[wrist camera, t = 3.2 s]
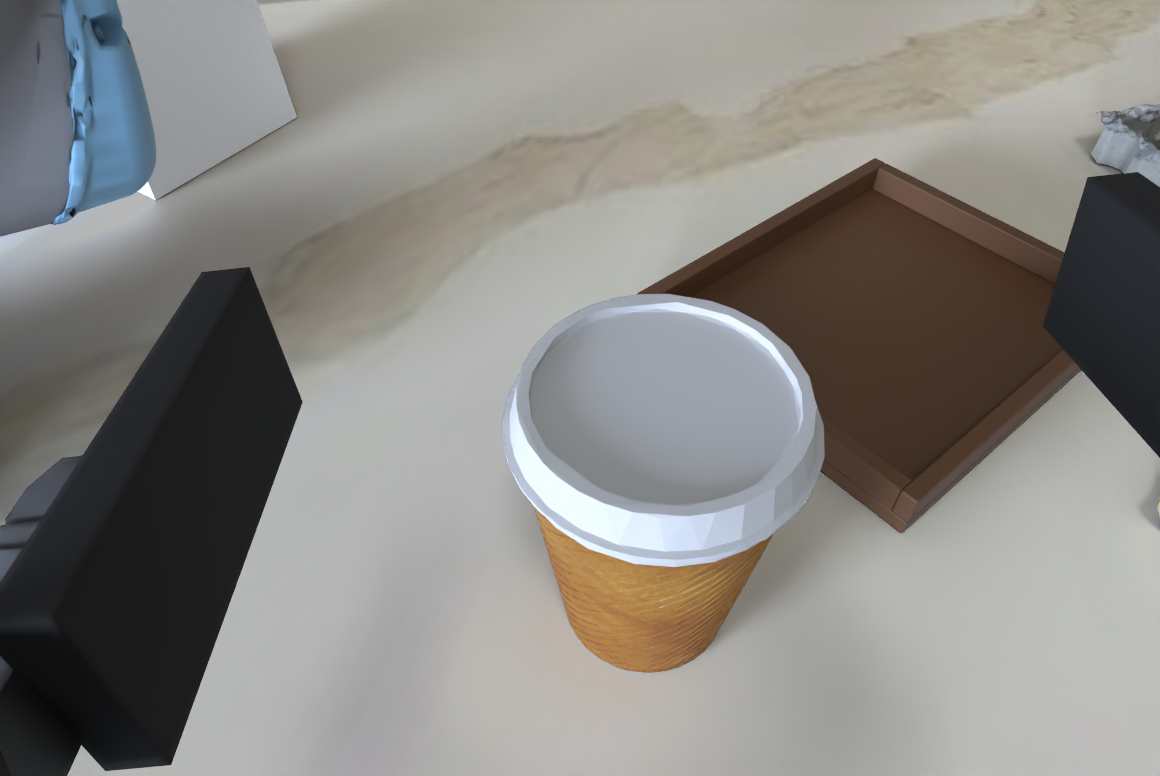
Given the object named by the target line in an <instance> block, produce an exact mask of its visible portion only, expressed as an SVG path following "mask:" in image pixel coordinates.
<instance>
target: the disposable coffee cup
mask: <svg viewBox="0 0 1160 776" xmlns="http://www.w3.org/2000/svg"><path fill="white" fill-rule="evenodd" d="M502 432H503V446H504V449H505V453H506V457H507V461H508V465H509V467H510V469H511V471H512V473H513V475H514V477H515V479H516V481H517V483H518V485H519V487H520V488H521V490H522V492H523V493H524V494H525V496H526V497H527V498H528V499H529V501H530V502H531V503H532V504H533V505H534V507H535V510H536V514H537V517H538V520H539V524H540V527H541V530H542V534H543V537H544V540H545V543H546V546H547V549H548V553H549V556H550V560H551V563H552V566H553V569H554V572H555V576H556V579H557V582H558V585H559V589H560V592H561V595H562V598H563V602H564V605H565V609H566V613H567V616H568V620H569V623H570V625H571V626H572V628H573V630H574V632H575V634H576V636H577V637H578V638H579V639H580V641H581V642H582V643H583V644H584V645H585V647H586V648H587V649H589V650H590V651H591V652H592V653H594V654H595V655H596V656H597V657H599V658H600V659H602V660H604V661H606V662H608V663H610V664H612V665H614V666H616V667H619V668H622V669H626V670H629V671H638V672H649V673H650V672H659V671H667V670H670V669H674V668H677V667H680V666H682V665H684V664H686V663H688V662H690V661H692V660H694V659H695V658H696V657H697V656H698V655H700V654H701V653H702V652H703V651H705V650H706V648H707V647H708V646H709V645H710V643H711V642H712V641H713V639H714V638H715V636H716V634H717V632H718V630H719V628H720V626H721V625H722V623H723V621H724V619H725V618H726V616H727V615H728V613H729V611H730V609H731V608H732V606H733V604H734V602H735V600H736V599H737V597H738V595H739V594H740V592H741V590H742V588H743V586H744V585H745V583H746V581H747V579H748V578H749V576H750V574H751V572H752V571H753V569H754V568H755V566H756V564H757V562H758V560H759V559H760V557H761V555H762V553H763V551H764V550H765V548H766V546H767V544H768V543H769V541H770V539H771V537H772V535H773V534H774V533H775V532H776V531H777V530H778V529H779V528H781V527H782V526H783V525H784V524H785V523H786V522H788V521H789V520H790V519H791V518H792V517H794V516H795V515H796V514H797V513H798V512H799V511H800V509H801V508H802V506H803V505H804V503H805V502H806V501H807V499H808V497H809V496H810V494H811V493H812V491H813V489H814V487H815V485H816V483H817V481H818V478H819V474H820V471H821V467H822V464H823V460H824V457H825V453H824V425H823V422H822V419H821V416H820V413H819V410H818V407H817V404H816V401H815V398H814V394H813V389H812V385H811V381H810V377H809V375H808V374H807V372H806V371H805V369H804V368H803V366H802V365H801V363H800V362H799V360H798V359H797V357H796V355H795V354H794V352H793V351H792V349H791V348H790V347H789V346H788V345H787V344H785V343H784V342H783V341H782V340H781V339H780V338H778V337H777V336H776V335H775V334H774V333H773V332H772V331H770V330H769V329H768V328H767V327H766V326H765V325H763V324H762V323H760V322H758V321H756V320H754V319H752V318H751V317H749V316H747V315H745V314H743V313H741V312H739V311H737V310H735V309H733V308H730V307H727V306H724V305H721V304H718V303H716V302H713V301H708V300H702V299H696V298H690V297H684V296H678V295H672V294H638V295H632V296H625V297H618V298H613V299H610V300H606V301H603V302H599V303H596V304H593V305H591V306H588V307H586V308H584V309H581V310H579V311H577V312H575V313H573V314H572V315H570V316H568V317H567V318H565V319H563V320H562V321H560V322H558V323H557V324H555V325H554V326H553V327H552V328H551V329H550V330H549V331H548V332H547V333H546V334H545V335H544V336H543V337H542V338H541V339H540V340H539V341H538V342H537V343H536V344H535V345H534V347H533V348H532V350H531V351H530V353H529V355H528V356H527V358H526V360H525V361H524V363H523V366H522V369H521V372H520V373H519V374H518V376H517V378H516V380H515V382H514V384H513V386H512V388H511V390H510V393H509V395H508V397H507V399H506V403H505V409H504V414H503V419H502Z"/></svg>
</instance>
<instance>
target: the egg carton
mask: <svg viewBox="0 0 1160 776" xmlns="http://www.w3.org/2000/svg"><path fill="white" fill-rule="evenodd" d="M1097 113H1101V114H1102V117H1101V122H1103V123H1104V124H1105V127H1104V129H1103V131H1102V133H1101V135H1100V137H1099V139H1098V141H1097V143H1096V145H1095V147H1094V149H1093V150H1092V152H1091V153H1090V154H1091V155H1092V157H1093V158H1094V159H1095V160H1096V163H1098V164H1100V163H1101V164H1105V165H1109V166H1112V167H1114V168H1116V169H1119V170H1121V171H1122V172H1124V173H1133V172H1139V173H1140V174H1142V175H1143V176H1145V177H1146V178H1147V179H1149V180H1150V181H1152V182H1153V183H1155V184H1156V185H1158V186H1159V187H1160V104H1159V105H1149V104H1144V105H1141V106H1137V107H1133V108H1129V109H1126V110H1124V111H1122V112H1120V111H1117V112H1116V111H1113V112H1106V111H1099V112H1097ZM1124 173H1123V174H1124Z"/></svg>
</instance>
